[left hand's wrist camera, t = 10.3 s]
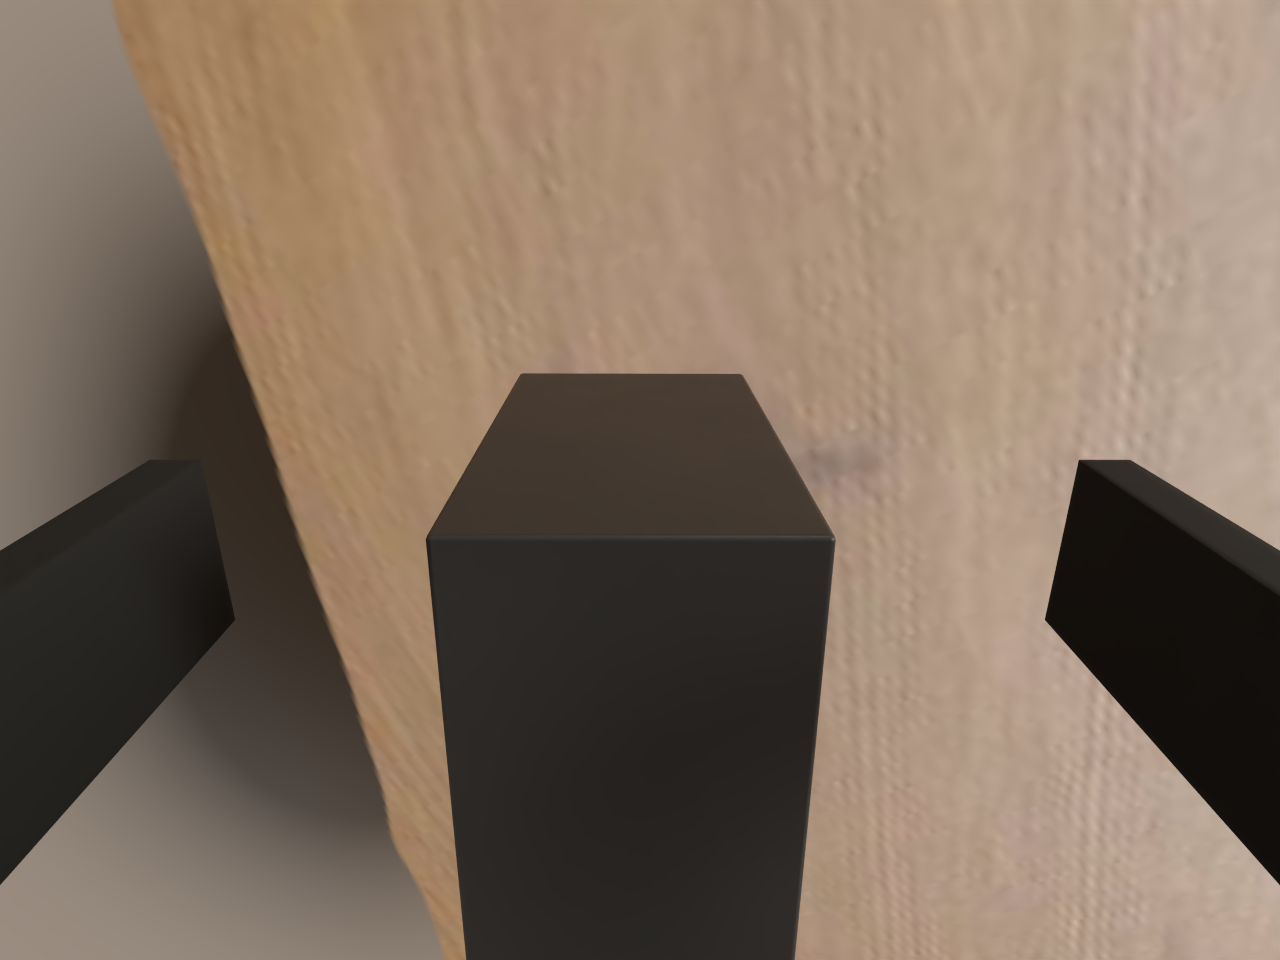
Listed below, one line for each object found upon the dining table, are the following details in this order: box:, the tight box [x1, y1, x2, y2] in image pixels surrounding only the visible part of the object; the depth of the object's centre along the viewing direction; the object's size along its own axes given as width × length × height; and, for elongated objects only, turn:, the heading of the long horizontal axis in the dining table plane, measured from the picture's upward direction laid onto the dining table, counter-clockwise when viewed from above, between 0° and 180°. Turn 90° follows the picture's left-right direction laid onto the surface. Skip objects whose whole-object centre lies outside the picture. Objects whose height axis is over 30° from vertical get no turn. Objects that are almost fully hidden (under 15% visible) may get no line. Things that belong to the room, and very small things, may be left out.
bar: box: [426, 374, 836, 960], centre depth 18 cm, size 22×5×9 cm, turn 0°
